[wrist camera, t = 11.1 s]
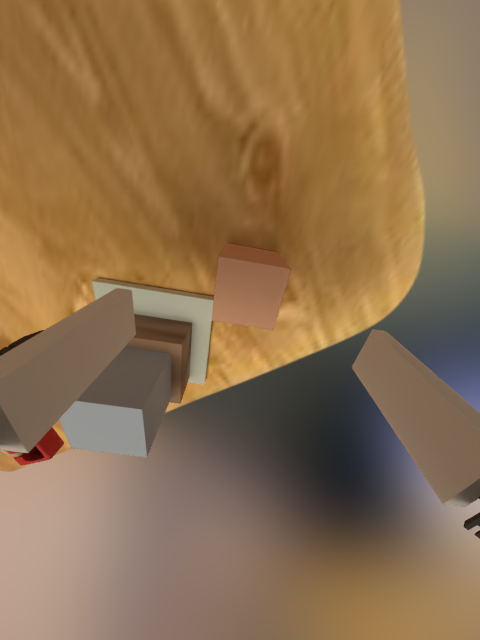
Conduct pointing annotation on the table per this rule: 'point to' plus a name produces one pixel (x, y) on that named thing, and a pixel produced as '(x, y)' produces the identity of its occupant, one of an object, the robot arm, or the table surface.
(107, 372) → the slate brick
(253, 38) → the table surface
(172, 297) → the plate
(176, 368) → the walnut base
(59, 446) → the toy fire truck
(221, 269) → the terracotta brick
